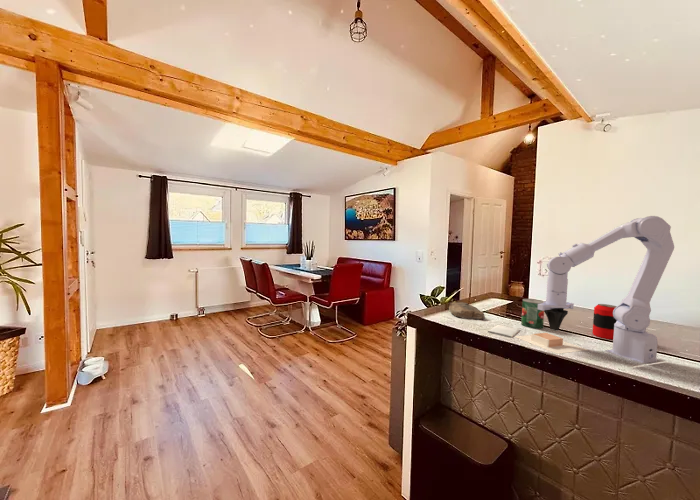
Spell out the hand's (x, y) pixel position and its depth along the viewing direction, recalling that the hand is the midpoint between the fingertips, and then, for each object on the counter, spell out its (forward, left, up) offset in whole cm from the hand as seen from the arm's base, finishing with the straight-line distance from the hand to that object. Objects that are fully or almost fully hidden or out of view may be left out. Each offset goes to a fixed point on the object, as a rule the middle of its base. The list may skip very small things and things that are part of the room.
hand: (554, 329), depth 100 cm
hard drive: (+14, +8, -6) cm, 17 cm away
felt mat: (0, +2, -5) cm, 5 cm away
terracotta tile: (0, 0, -3) cm, 3 cm away
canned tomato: (+17, -11, -5) cm, 21 cm away
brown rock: (+41, +4, -5) cm, 42 cm away
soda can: (+1, -29, -5) cm, 29 cm away
